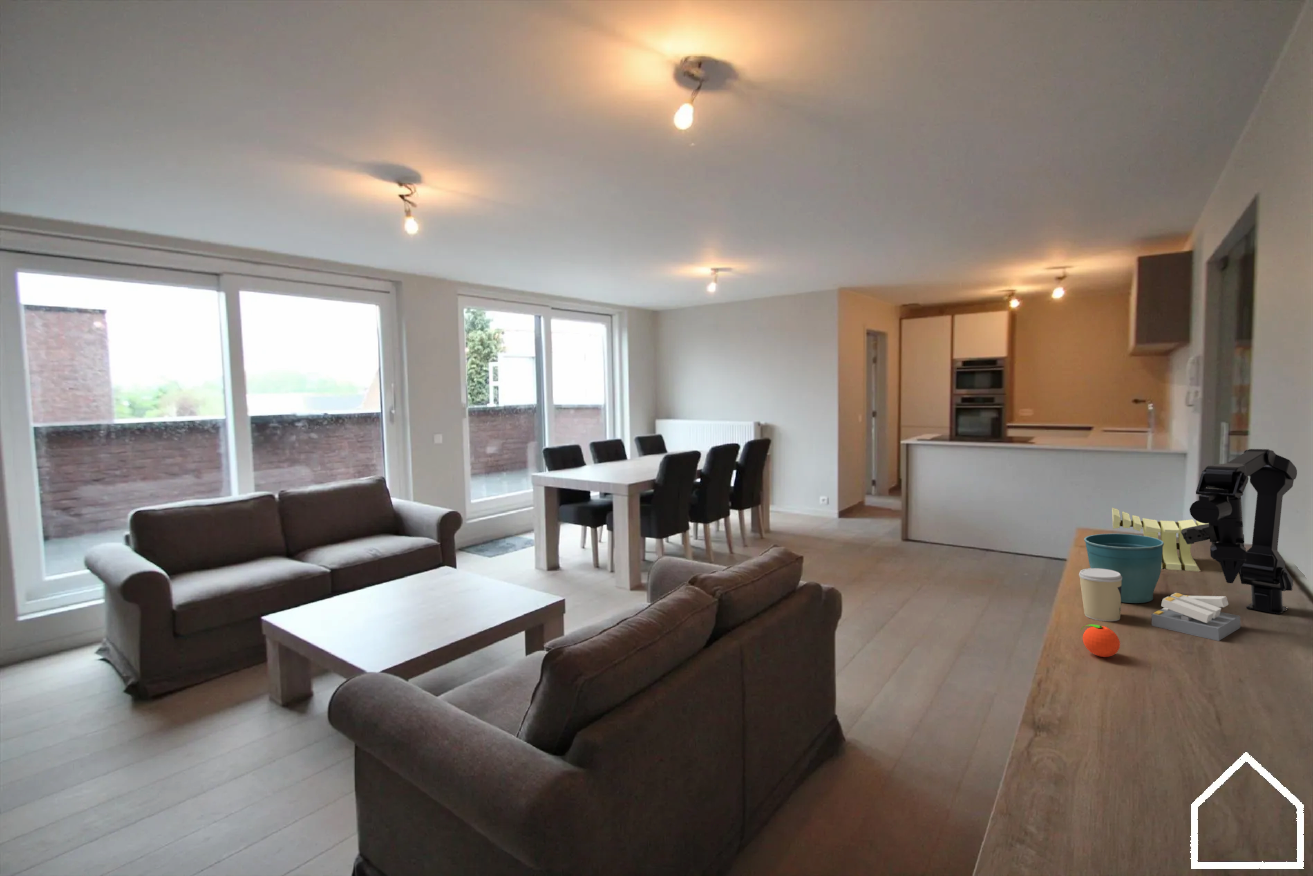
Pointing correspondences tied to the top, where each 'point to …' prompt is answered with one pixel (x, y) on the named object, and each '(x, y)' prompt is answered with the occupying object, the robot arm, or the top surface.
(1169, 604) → the block
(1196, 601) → the rocker middle
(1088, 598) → the coffee cup
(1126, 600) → the flower pot
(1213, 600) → the block
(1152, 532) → the slatted curved stool
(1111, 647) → the clementine
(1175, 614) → the console
